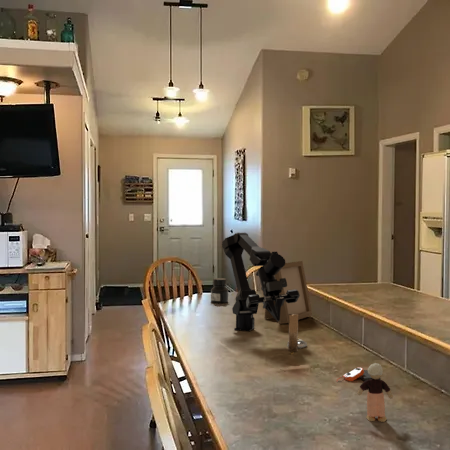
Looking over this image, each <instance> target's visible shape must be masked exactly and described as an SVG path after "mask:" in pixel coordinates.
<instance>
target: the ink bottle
mask: <svg viewBox="0 0 450 450" xmlns="http://www.w3.org/2000/svg"><path fill="white" fill-rule="evenodd" d="M212 280H213V281H212V286H213V287H212V288H211V289H210V302H212V303H214V304H226V303H228V302H229V288H227V278H222V277H215V278H213V279H212Z"/></svg>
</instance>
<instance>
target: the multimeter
mask: <svg viewBox="0 0 450 450" xmlns="http://www.w3.org/2000/svg"><path fill="white" fill-rule="evenodd" d="M341 378H343V380H344V381H349V382H353V381H355V380H358V378H360V379H361V380H362V381H363V382H364V381H366V380H370V379H372V378H371V377H370V375H369V373H368V369H367V370H364V368H362V367H355V368H354V369H353V370H351V371H349V372H346V373H345V374H343V375H342V376H341V377H339V378H337V379H336V381H337V383H341V382H343V380H339V379H341ZM379 380H382V377H380V378H379Z"/></svg>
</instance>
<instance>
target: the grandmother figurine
mask: <svg viewBox="0 0 450 450" xmlns="http://www.w3.org/2000/svg"><path fill="white" fill-rule="evenodd" d="M367 370H368V373H369V375H370V377H371V378H372V379H370V380H366V381H363V382H362V383H361V384H360V385H359V389H358V391H357V392H356V393H357V396H362V394H363V392H365V391H367V395H366V396H367V397H366V412H367V413H366V414H367V415H366V416H365V418H366V419H367V420H368V421H369V422H376V417H377V421H378V422H381V423H384V422H386V421H387V416H386V408H385V406H386V405H385V396H384V395H385V394H384V392H385V393H386V395H387V397H388V399H393V398H394V396H393V392H392V390H391V388H390V385H389V384H387V382H385V381H384V380H382V379H381V380H379V378H382V375H383V372H384V370H383V367H382V364H380V363H375V362H374V363H372V364H370V365H369V366H368V367H367ZM383 390H384V392H383Z"/></svg>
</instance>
